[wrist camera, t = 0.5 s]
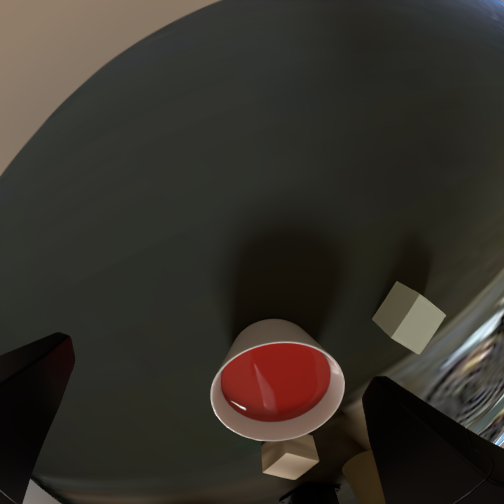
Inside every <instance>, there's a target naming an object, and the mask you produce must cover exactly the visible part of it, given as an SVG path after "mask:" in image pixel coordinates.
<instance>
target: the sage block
mask: <svg viewBox="0 0 504 504" xmlns="http://www.w3.org/2000/svg"><path fill="white" fill-rule="evenodd" d="M445 316H446V315H445V314H444V313H443V312H442V311H440V310H439V309H438V308H437V307H436V306H434V305H433V304H432V303H431V302H430V301H428V300H427V299H426V298H425V297H423V296H422V295H421V294H419V293H418V292H416V291H414V290H412V289H410V288H409V287H407V286H405V285H403V284H401V283H399V282H398V281H396V283H395V284H394V286H393V288H392V289H391V291H390V292H389V294H388V295H387V297H386V298H385V300H384V302H383V303H382V305H381V306H380V308H379V309H378V311H377V312H376V313H375V315H374V316H373V318H372V320H373V321H374V322H375V323H376V324H377V325H378V326H379V327H380V328H381V329H382V330H383V331H384V332H385V333H386V334H387V335H388V336H389V337H391V338H392V339H394V340H395V341H397V342H399V343H400V344H402V345H403V346H405V347H407V348H408V349H410V350H412V351H413V352H415V353H417V354H418V355H420V353H421V352H422V351H423V349H424V348H425V346H426V345H427V343H428V342H429V341H430V339H431V338H432V336H433V335H434V333H435V332H436V330H437V329H438V327H439V325H440V324H441V322H442V321H443V319H444V318H445Z"/></svg>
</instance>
